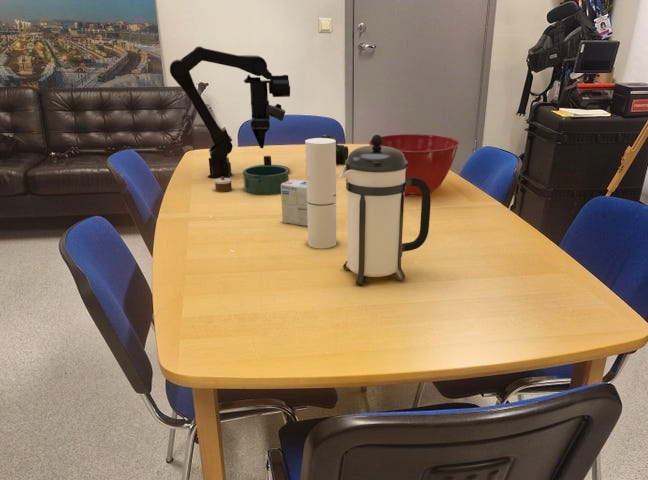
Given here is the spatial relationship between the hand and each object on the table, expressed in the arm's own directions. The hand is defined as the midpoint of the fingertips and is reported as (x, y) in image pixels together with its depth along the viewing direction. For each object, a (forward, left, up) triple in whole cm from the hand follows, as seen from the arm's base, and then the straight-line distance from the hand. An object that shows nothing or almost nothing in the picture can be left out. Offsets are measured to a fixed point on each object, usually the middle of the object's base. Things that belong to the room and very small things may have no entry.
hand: (261, 145), depth 219 cm
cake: (-4, -24, -10) cm, 26 cm away
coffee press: (+60, -82, -10) cm, 102 cm away
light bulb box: (+32, -50, -10) cm, 60 cm away
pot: (+9, -19, -10) cm, 23 cm away
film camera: (+19, +24, -10) cm, 32 cm away
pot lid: (+1, +3, -9) cm, 10 cm away
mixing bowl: (+55, -8, -10) cm, 56 cm away
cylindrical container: (+42, -66, -10) cm, 79 cm away
